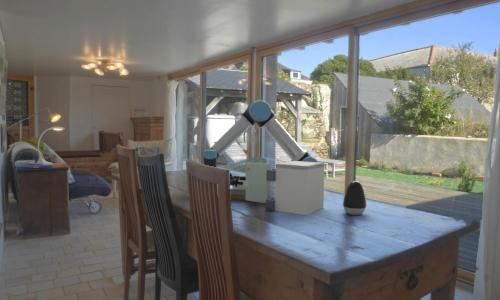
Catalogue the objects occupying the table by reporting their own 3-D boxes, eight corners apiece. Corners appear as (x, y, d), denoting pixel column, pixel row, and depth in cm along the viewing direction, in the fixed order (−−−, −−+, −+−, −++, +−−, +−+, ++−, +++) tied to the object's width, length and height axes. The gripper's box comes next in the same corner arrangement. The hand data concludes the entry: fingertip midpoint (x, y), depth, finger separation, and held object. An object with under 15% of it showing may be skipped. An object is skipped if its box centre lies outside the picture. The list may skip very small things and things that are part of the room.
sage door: (248, 199, 208) (249, 162, 207) (269, 202, 201) (270, 163, 200) (244, 200, 205) (244, 162, 204) (265, 203, 198) (266, 164, 197)
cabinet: (293, 203, 199) (294, 160, 197) (323, 207, 190) (324, 162, 189) (274, 210, 182) (275, 163, 181) (306, 215, 173) (307, 166, 172)
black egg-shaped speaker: (340, 214, 176) (341, 181, 175) (345, 210, 185) (346, 178, 184) (363, 217, 171) (364, 183, 170) (367, 213, 180) (369, 180, 179)
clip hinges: (272, 207, 188) (273, 168, 187) (279, 208, 186) (280, 169, 185) (265, 210, 183) (266, 170, 181) (272, 211, 181) (273, 170, 179)
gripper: (236, 182, 226) (267, 186, 214) (209, 188, 205) (242, 192, 193) (236, 169, 225) (268, 172, 214) (209, 174, 204) (242, 177, 193)
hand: (256, 182), depth 203 cm, fingers open, 13 cm apart
